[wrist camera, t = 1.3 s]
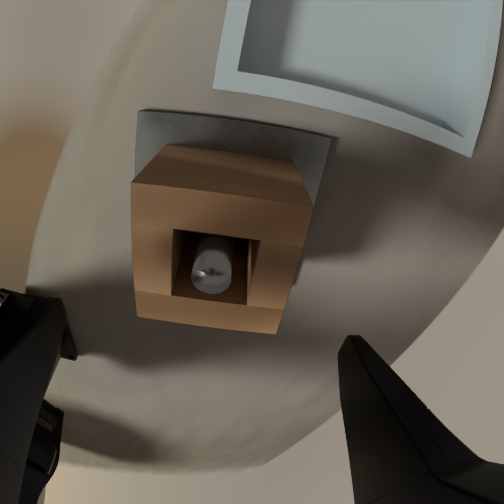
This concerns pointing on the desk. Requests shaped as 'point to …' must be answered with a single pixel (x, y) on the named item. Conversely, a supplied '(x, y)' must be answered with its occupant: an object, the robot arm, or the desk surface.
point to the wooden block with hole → (222, 223)
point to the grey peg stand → (237, 141)
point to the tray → (369, 60)
